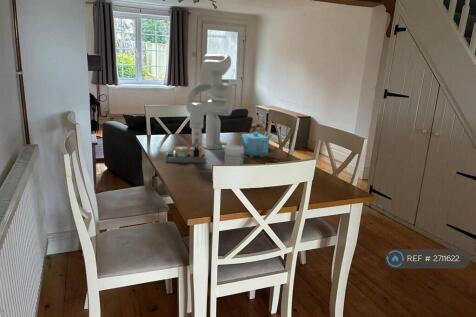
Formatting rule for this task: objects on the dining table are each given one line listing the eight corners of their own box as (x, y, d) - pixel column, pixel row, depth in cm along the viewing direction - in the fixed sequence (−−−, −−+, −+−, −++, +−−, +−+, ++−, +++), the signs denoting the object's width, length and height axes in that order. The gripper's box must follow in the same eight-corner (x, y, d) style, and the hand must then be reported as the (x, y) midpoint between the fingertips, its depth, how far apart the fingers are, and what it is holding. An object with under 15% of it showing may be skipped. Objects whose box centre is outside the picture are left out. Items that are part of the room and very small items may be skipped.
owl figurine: (243, 143, 254) (244, 120, 249) (257, 143, 258) (259, 119, 254) (254, 149, 238) (255, 124, 233) (269, 148, 243) (271, 124, 238)
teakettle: (245, 150, 235) (246, 128, 231) (272, 154, 228) (274, 131, 224) (235, 156, 218) (236, 133, 214) (264, 161, 211) (265, 137, 207)
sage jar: (187, 158, 207) (188, 146, 205) (188, 161, 200) (188, 149, 198) (175, 158, 205) (175, 146, 204) (175, 161, 199) (175, 149, 197)
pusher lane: (204, 158, 209) (204, 151, 208) (205, 163, 200) (205, 155, 199) (166, 158, 206) (166, 150, 205) (166, 162, 197) (165, 155, 196)
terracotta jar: (201, 158, 208) (202, 146, 206) (202, 161, 201) (202, 149, 199) (189, 158, 207) (189, 146, 205) (189, 161, 200) (189, 149, 198)
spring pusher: (175, 157, 205) (175, 150, 204) (174, 161, 199) (175, 153, 198) (173, 157, 205) (173, 150, 204) (173, 161, 199) (173, 153, 197)
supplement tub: (244, 177, 180) (246, 149, 176) (226, 177, 178) (227, 149, 174) (240, 171, 189) (241, 144, 185) (222, 172, 187) (223, 144, 183)
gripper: (204, 128, 191) (203, 158, 195) (202, 122, 207) (201, 150, 212) (190, 127, 190) (189, 158, 194) (189, 122, 206) (189, 150, 211)
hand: (196, 154), depth 203 cm, fingers open, 9 cm apart
